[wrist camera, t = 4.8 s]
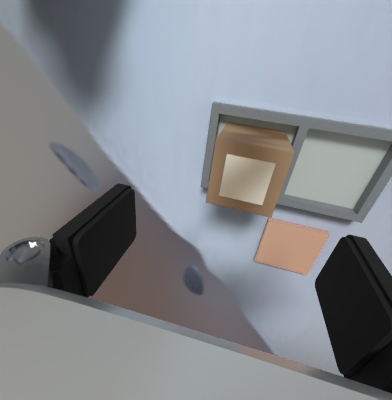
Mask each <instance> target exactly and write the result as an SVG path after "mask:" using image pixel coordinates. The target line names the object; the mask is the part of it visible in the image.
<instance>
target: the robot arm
mask: <svg viewBox="0 0 392 400" xmlns="http://www.w3.org/2000/svg"><path fill="white" fill-rule="evenodd" d="M135 237H136V215H135V192H134V190H132V188H131V186H128V185H123V184H117V185H115V186H114V187H113V188H111V189H110V190H109V191H108V192H106V193H105V194H104V195H103V196H101V197H100V198H99V199H97V200H96V201H95V202H94V203H92V204H91V205H90V206H88V207H87V208H86V209H85V210H83V211H82V212H81V213H80V214H78V215H77V216H76V217H74V218H73V219H72V220H70V221H69V222H68V223H67V224H66V225H64V226H63V227H62V228H60V229H59V230H58V231H56V232H55V233H54V234H53V238H52V239H50V240H49V241H48V240H47V239H45V238H42V237H29V238H25V239H21V240H19V241H17V242H14V243H12V244H11V245H9V246H7V247H6V248H5V249H4V250H3V251H2V252H1V254H0V400H392V276H391V274H390V273H389V271H388V270H387V269H386V267H385V266H384V264H383V263H382V261H381V260H380V258H379V257H378V255H377V254H376V252H375V251H374V249H373V248H372V246H371V245H370V243H369V242H368V241H367V239H366V238H362V237H358V236H353V235H347V236H346V237H342V238H341V239H340V240H339V242H338V244H337V245H336V247H335V249H334V250H333V252H332V254H331V255H330V257H329V259H328V260H327V262H326V263H325V265H324V267H323V268H322V270H321V272H320V273H319V275H318V277H317V278H316V281H315V288H316V292H317V295H318V299H319V302H320V306H321V309H322V313H323V317H324V320H325V324H326V327H327V331H328V334H329V338H330V341H331V345H332V349H333V352H334V356H335V359H336V363H337V366H338V369H339V371H340V373H341V374H344V377H341V376H338V375H335V374H332V373H329V372H326V371H322V370H319V369H316V368H313V367H310V366H307V365H304V364H300V363H297V362H294V361H291V360H288V359H285V358H281V357H278V356H275V355H272V354H269V353H266V352H262V351H259V350H256V349H253V348H250V347H247V346H243V345H240V344H237V343H233V342H231V341H227V340H224V339H221V338H218V337H214V336H211V335H208V334H205V333H202V332H198V331H195V330H192V329H189V328H186V327H182V326H179V325H176V324H173V323H169V322H166V321H163V320H160V319H156V318H153V317H150V316H147V315H143V314H140V313H137V312H134V311H130V310H127V309H124V308H120V307H117V306H114V305H110V304H107V303H104V302H101V301H97V300H93V299H90V298H88V297H89V296H92V295H94V293H95V292H96V291H97V290H98V288H99V287H100V285H101V284H102V283H103V281H104V280H105V279H106V277H107V276H108V275H109V273H110V272H111V270H112V269H113V268H114V266H115V265H116V264H117V262H118V261H119V260H120V258H121V257H122V256H123V254H124V253H125V252H126V250H127V249H128V247H129V246H130V245H131V244H132V242H133V241H134V239H135Z"/></svg>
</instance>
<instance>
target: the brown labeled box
mask: <svg viewBox="0 0 392 400" xmlns="http://www.w3.org/2000/svg"><path fill="white" fill-rule="evenodd" d="M294 153H295V152H294V150H293V148H292V145H291V143H290V141H289V138H288V136H287V134H286V132H284V131H278V130H272V129H266V128H260V127H254V126H248V125H242V124H237V123H231V122H228V123H227V124H226V125H225V127H224V128H223V129H222V131H221V132H220V134H219V135H218V136H217V138H216V142H215V148H214V154H213V161H212V167H211V173H210V180H209V186H208V192H207V198H206V203H211V204H215V205H219V206H223V207H228V208H232V209H236V210H241V211H245V212H249V213H253V214H258V215H262V216H266V217H272V214H273V211H274V209H275V206H276V203H277V200H278V198H279V195H280V192H281V189H282V187H283V184H284V181H285V178H286V176H287V173H288V170H289V167H290V164H291V162H292V159H293V156H294Z"/></svg>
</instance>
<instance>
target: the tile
mask: <svg viewBox="0 0 392 400" xmlns="http://www.w3.org/2000/svg"><path fill="white" fill-rule="evenodd" d="M328 237H329V233H328V232H327V231H323V230H319V229H314V228H310V227H306V226H302V225H297V224H293V223H289V222H285V221H280V220H276V219H272V218H268V221H267V224H266V226H265V229H264V232H263V235H262V238H261V241H260V243H259V246H258V249H257V252H256V255H255V258H254V261H256V262H260V263H264V264H268V265H271V266H275V267H279V268H282V269H286V270H290V271H294V272H297V273H301V274H305V275H307V274H308V272H309V270H310V269H311V267H312V265H313V263H314V262H315V260H316V258H317V256H318V254H319V253H320V251H321V249H322V247H323V246H324V244H325V242H326V240H327V239H328Z"/></svg>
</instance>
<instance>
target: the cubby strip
mask: <svg viewBox="0 0 392 400" xmlns="http://www.w3.org/2000/svg"><path fill="white" fill-rule="evenodd" d="M228 122H231V123H237V124H242V125H248V126H254V127H260V128H266V129H272V130H278V131H284V132H286V134H287V136H288V138H289V141H290V143H291V145H292V148H293V150H294V152H295V153H294V156H293V159H292V162H291V164H290V167H289V170H288V173H287V176H286V178H285V181H284V184H283V187H282V189H281V192H280V195H279V198H278V200H277V203H276V204H279V205H284V206H288V207H293V208H297V209H302V210H306V211H311V212H315V213H320V214H324V215H329V216H333V217H338V218H342V219H347V220H351V221H356V222H360V223H362V222H363V220H364V219H365V217H366V215H367V214H368V212H369V211H370V209H371V208H372V206H373V205H374V203H375V201H376V200H377V198H378V197H379V195H380V194H381V192H382V190H383V189H384V187H385V186H386V184H387V183H388V181H389V180H390V178H391V176H392V129H389V128H383V127H376V126H370V125H363V124H357V123H350V122H344V121H337V120H331V119H324V118H318V117H312V116H305V115H299V114H292V113H286V112H279V111H273V110H266V109H260V108H253V107H247V106H240V105H234V104H227V103H221V102H214V103H212V109H211V116H210V124H209V131H208V138H207V145H206V153H205V160H204V167H203V174H202V181H201V187H203V188H207V189H208V186H209V180H210V173H211V167H212V161H213V154H214V148H215V142H216V138H217V136H218V135H219V134H220V132H221V131H222V129H223V128H224V127H225V125H226V124H227V123H228Z"/></svg>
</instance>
